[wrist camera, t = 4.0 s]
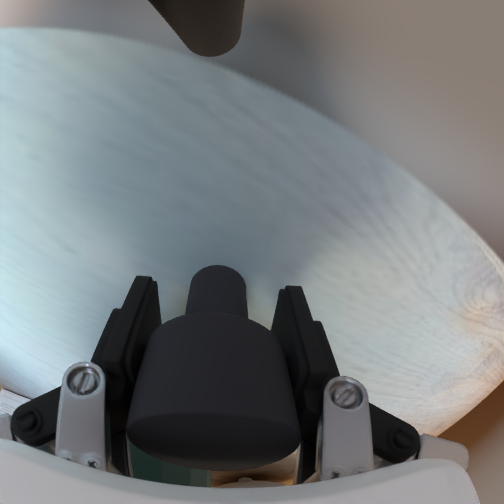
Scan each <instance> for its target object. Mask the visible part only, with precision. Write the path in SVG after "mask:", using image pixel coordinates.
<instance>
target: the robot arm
mask: <svg viewBox="0 0 504 504" xmlns="http://www.w3.org/2000/svg"><path fill="white" fill-rule="evenodd" d="M161 325H162V323H161V315H160V306H159V296H158V285H157V281H153V280H152V277H148V276H136V277H135V280H134V282H133V284H132V286H131V288H130V290H129V292H128V295H127V297H126V299H125V301H124V304H123V306H122V308H121V309H118V308H115V309H113V311H112V313H111V315H110V317H109V319H108V321H107V324H106V326H105V328H104V330H103V333H102V335H101V337H100V340H99V342H98V345H97V347H96V349H95V352H94V354H93V357H92V359H91V362H79V363H76V364H73V365H72V366H71V367H69V368H68V369H67V370H66V372H65V373H64V376H63V379H62V385H61V386H60V387H58V388H56V389H54V390H52V391H50V392H47V393H45V394H43V395H41V396H39V397H37V398H35V399H33V400H30V401H28V402H26V403H24V404H22V405H20V406H19V407H17V408H16V409H15V411H14V412H13V415H10V414H9V413H5V414H1V415H0V504H480V502H479V499H478V496H477V493H476V491H475V489H474V486H473V484H472V482H471V480H470V478H469V476H468V474H467V470H468V463H469V453H468V451H467V449H466V448H465V447H464V446H463V445H462V444H460V443H456V442H452V441H448V440H445V439H441V438H437V437H434V436H431V435H428V434H424V433H423V434H422V435H419V434H418V432H417V430H416V429H415V428H414V427H413V426H411V425H410V424H408V423H406V422H404V421H402V420H400V419H399V418H397V417H395V416H393V415H391V414H389V413H387V412H385V411H384V410H382V409H380V408H378V407H376V406H375V405H373V404H371V403H369V401H368V394H367V391H366V389H365V387H364V386H363V385H362V384H361V383H360V382H359V381H358V380H356V379H353V378H351V377H347V376H340V374H339V371H338V368H337V365H336V362H335V359H334V356H333V353H332V351H331V348H330V345H329V342H328V339H327V336H326V334H325V331H324V328H323V325H322V323H321V322H320V321H313V319H312V316H311V313H310V310H309V307H308V304H307V301H306V298H305V295H304V292H303V289H302V287H301V286H286V287H285V289H280V291H279V296H278V300H277V305H276V310H275V314H274V319H273V324H272V328H271V332H272V333H273V334H274V335H275V336H276V337H277V338H278V339H279V341H280V342H281V344H282V345H283V348H284V350H285V354H286V359H287V364H288V369H289V375H290V380H291V385H292V390H293V395H294V400H295V406H296V411H297V416H298V421H299V427H300V432H301V442H300V445H299V447H298V448H297V452H296V462H295V471H294V479H293V485H290V486H279V487H264V488H207V487H193V486H182V485H173V484H165V483H158V482H152V481H146V480H141V479H135V478H134V474H133V466H132V458H131V448H130V440H129V439H128V437H127V434H126V424H127V419H128V415H129V410H130V406H131V401H132V397H133V392H134V388H135V384H136V380H137V376H138V372H139V368H140V364H141V360H142V356H143V353H144V349H145V345H146V342H147V340H148V338H149V336H150V335H151V334H152V333H153V332H154V331H155V330H156V329H157V328H158V327H159V326H161Z"/></svg>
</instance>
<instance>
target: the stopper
mask: <svg viewBox="0 0 504 504" xmlns="http://www.w3.org/2000/svg"><path fill="white" fill-rule="evenodd" d="M126 434H127V437H128V439H129V440H130V441H131V443H132V444H133V445H134V446H136V447H137V448H138V449H140V450H141V451H143V452H144V453H146V454H148V455H150V456H152V457H154V458H156V459H159V460H161V461H164V462H167V463H170V464H174V465H178V466H182V467H187V468H193V469H200V470H212V471H231V470H243V469H250V468H255V467H260V466H264V465H267V464H271V463H273V462H276V461H279V460H281V459H283V458H285V457H287V456H289V455H290V454H292V453H293V452H294V451H295V450H296V449H297V448H298V447H299V445H300V442H301V432H300V427H299V421H298V416H297V411H296V406H295V400H294V395H293V390H292V385H291V380H290V375H289V369H288V364H287V359H286V354H285V350H284V348H283V345H282V344H281V342H280V341H279V339H278V338H277V337H276V336H275V335H274V334H273V333H272V332H271V331H270V330H268V329H267V328H266V327H264V326H262V325H260V324H259V323H257V322H254V321H252V320H250V319H248V310H247V298H246V286H245V282H244V280H243V278H242V277H241V275H240V274H239V273H238V272H236V271H235V270H233V269H231V268H229V267H226V266H221V265H214V266H208V267H206V268H203V269H202V270H200V271H199V272H197V273H196V274H195V276H194V277H193V279H192V281H191V286H190V291H189V296H188V301H187V307H186V312H185V315H183V316H180V317H176V318H174V319H172V320H169V321H167V322H165V323H164V324H162V325H161V326H159V327H158V328H157V329H156V330H155V331H154V332H153V333H152V334H151V335H150V336H149V338H148V340H147V342H146V345H145V349H144V353H143V356H142V360H141V364H140V368H139V372H138V376H137V380H136V384H135V388H134V392H133V397H132V401H131V406H130V410H129V415H128V419H127V424H126Z"/></svg>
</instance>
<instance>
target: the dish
mask: <svg viewBox="0 0 504 504" xmlns="http://www.w3.org/2000/svg"><path fill="white" fill-rule="evenodd" d="M279 486H287V485H284V484H281V483H277V482H271V481H253V480H252V479H251V478H240V479H239V480H238V482H234V483H228V484H224V485H220V486H217V487H214V488H264V487H279Z"/></svg>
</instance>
